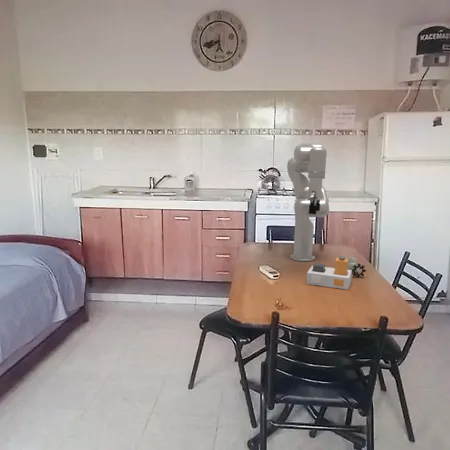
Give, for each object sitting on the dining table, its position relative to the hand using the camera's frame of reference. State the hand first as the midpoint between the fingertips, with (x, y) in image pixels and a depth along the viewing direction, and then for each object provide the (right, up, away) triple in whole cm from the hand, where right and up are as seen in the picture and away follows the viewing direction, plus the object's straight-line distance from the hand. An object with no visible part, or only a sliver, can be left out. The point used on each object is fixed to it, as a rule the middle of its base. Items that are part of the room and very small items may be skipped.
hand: (314, 212), depth 200 cm
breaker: (0, -28, -9) cm, 29 cm away
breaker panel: (+4, -31, -10) cm, 33 cm away
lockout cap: (+9, -27, -13) cm, 31 cm away
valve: (+19, -29, +3) cm, 35 cm away
